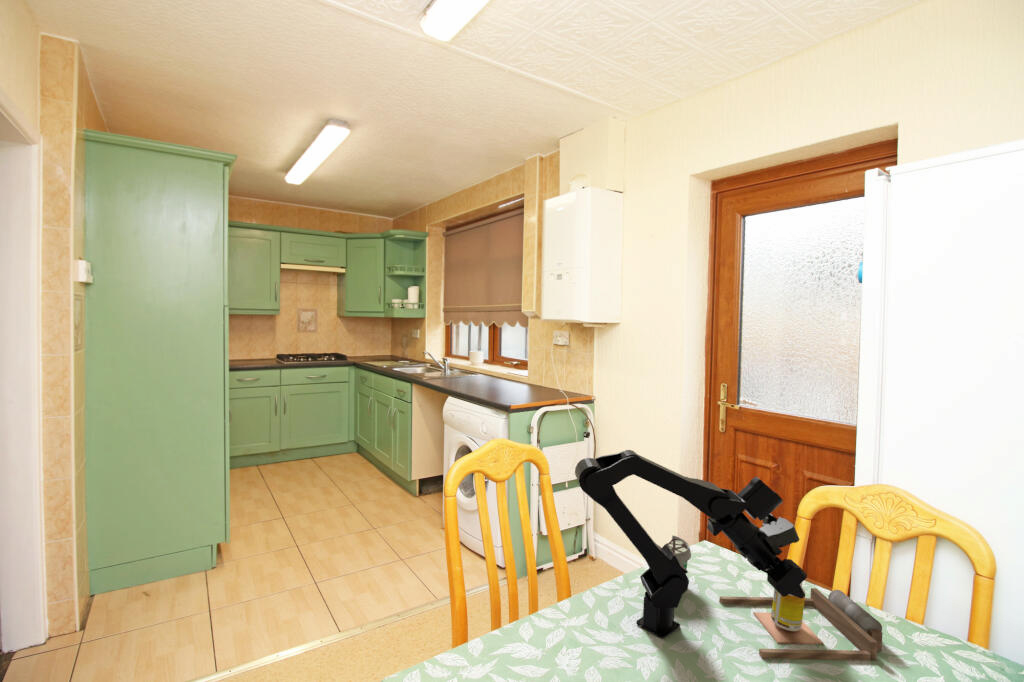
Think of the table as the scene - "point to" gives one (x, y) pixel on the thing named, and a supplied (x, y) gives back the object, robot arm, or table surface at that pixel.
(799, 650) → the frame
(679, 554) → the food container
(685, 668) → the table surface
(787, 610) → the supplement bottle
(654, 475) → the robot arm
